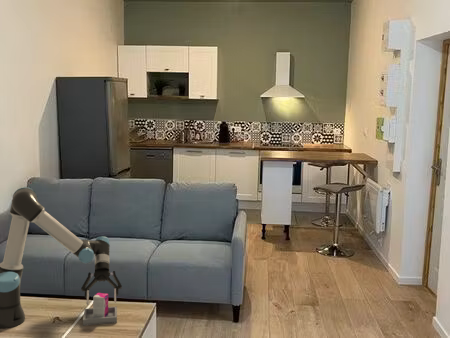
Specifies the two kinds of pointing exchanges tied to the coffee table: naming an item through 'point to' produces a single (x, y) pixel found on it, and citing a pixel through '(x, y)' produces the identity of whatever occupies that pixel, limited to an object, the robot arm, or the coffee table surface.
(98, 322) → the tray
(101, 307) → the supplement box
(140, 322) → the coffee table surface
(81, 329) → the coffee table surface
